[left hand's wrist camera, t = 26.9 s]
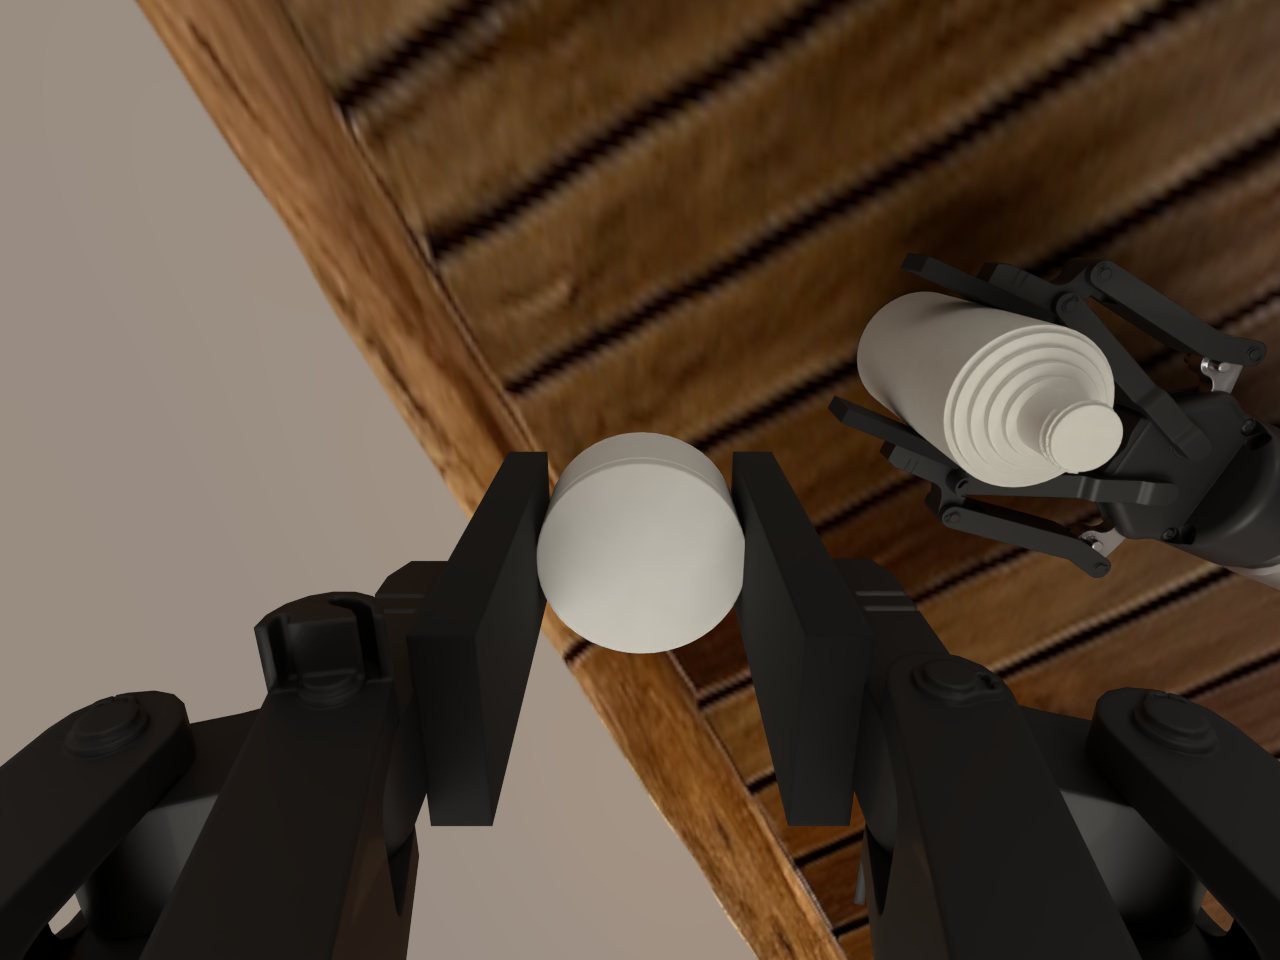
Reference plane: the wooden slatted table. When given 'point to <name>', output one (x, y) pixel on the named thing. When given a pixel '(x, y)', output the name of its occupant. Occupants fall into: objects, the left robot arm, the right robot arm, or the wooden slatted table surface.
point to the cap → (641, 544)
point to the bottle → (992, 387)
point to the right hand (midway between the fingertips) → (875, 338)
